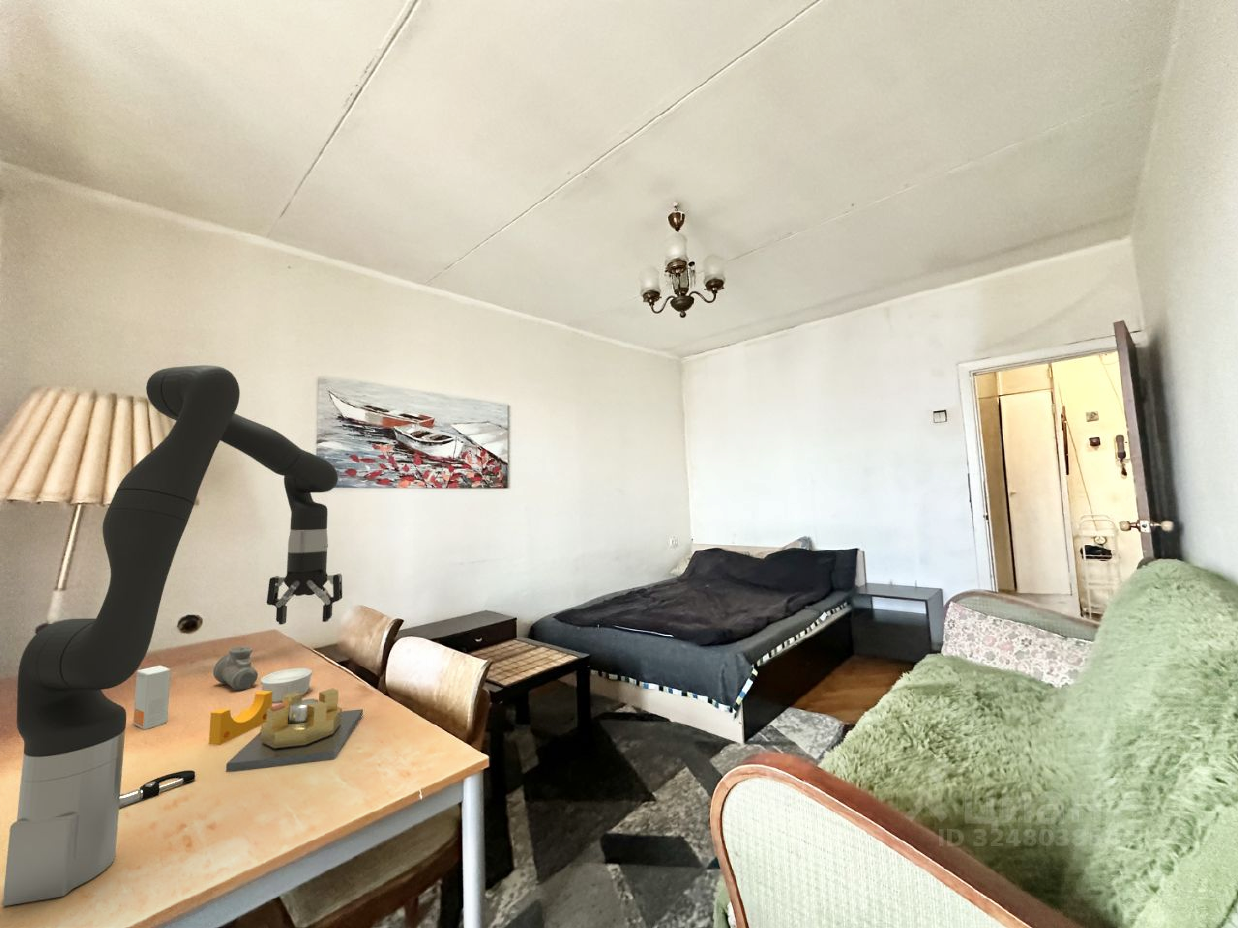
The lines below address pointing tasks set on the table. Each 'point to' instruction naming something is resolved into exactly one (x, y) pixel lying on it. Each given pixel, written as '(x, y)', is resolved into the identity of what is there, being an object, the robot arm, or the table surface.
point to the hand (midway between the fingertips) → (304, 622)
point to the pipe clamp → (239, 719)
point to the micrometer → (155, 787)
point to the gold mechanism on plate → (318, 750)
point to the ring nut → (318, 724)
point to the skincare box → (152, 697)
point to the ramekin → (286, 682)
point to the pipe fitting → (236, 669)
